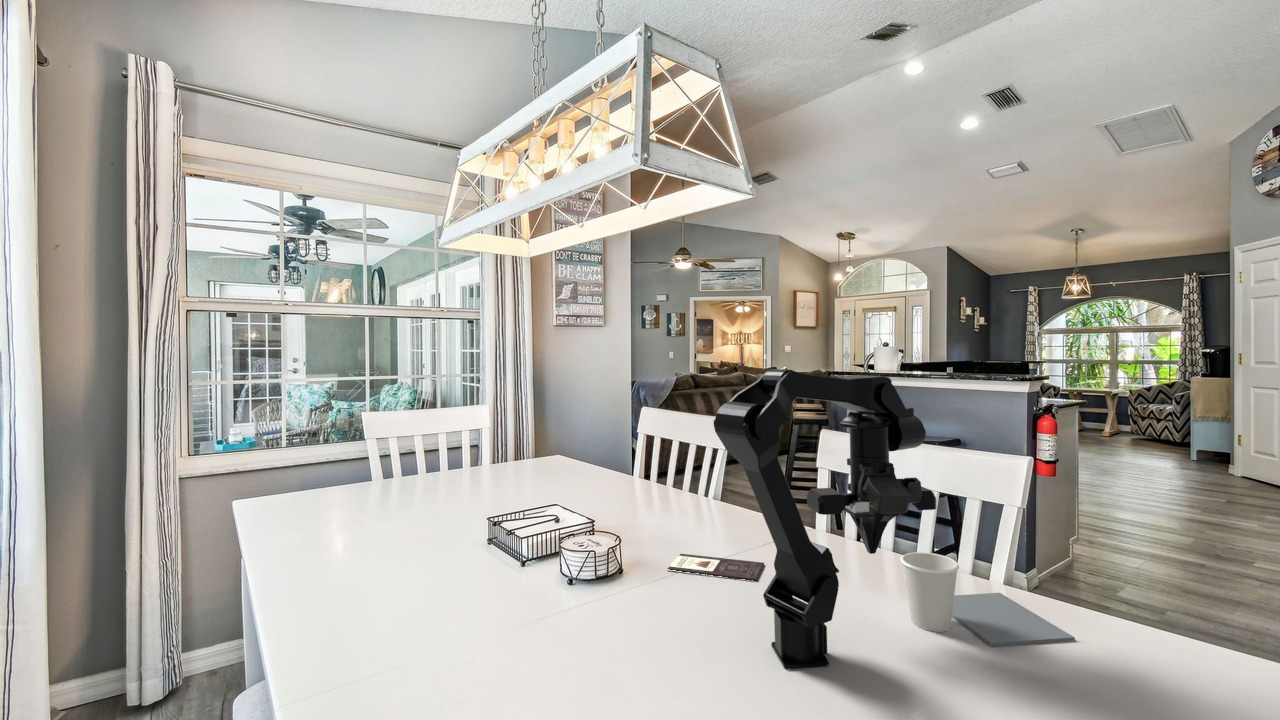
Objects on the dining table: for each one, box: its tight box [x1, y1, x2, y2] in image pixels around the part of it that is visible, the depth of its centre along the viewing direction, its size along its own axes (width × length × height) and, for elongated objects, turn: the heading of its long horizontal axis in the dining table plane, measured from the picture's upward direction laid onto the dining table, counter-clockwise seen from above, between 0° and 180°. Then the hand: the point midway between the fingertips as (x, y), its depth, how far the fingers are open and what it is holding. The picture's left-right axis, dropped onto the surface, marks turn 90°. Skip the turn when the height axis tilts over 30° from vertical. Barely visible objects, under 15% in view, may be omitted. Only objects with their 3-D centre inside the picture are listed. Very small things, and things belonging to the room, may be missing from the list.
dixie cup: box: [900, 551, 960, 633], centre depth 92 cm, size 8×8×10 cm
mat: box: [951, 592, 1076, 647], centre depth 93 cm, size 13×16×1 cm
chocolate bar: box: [667, 553, 765, 582], centre depth 118 cm, size 9×1×18 cm
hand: (871, 552), depth 91 cm, fingers closed
